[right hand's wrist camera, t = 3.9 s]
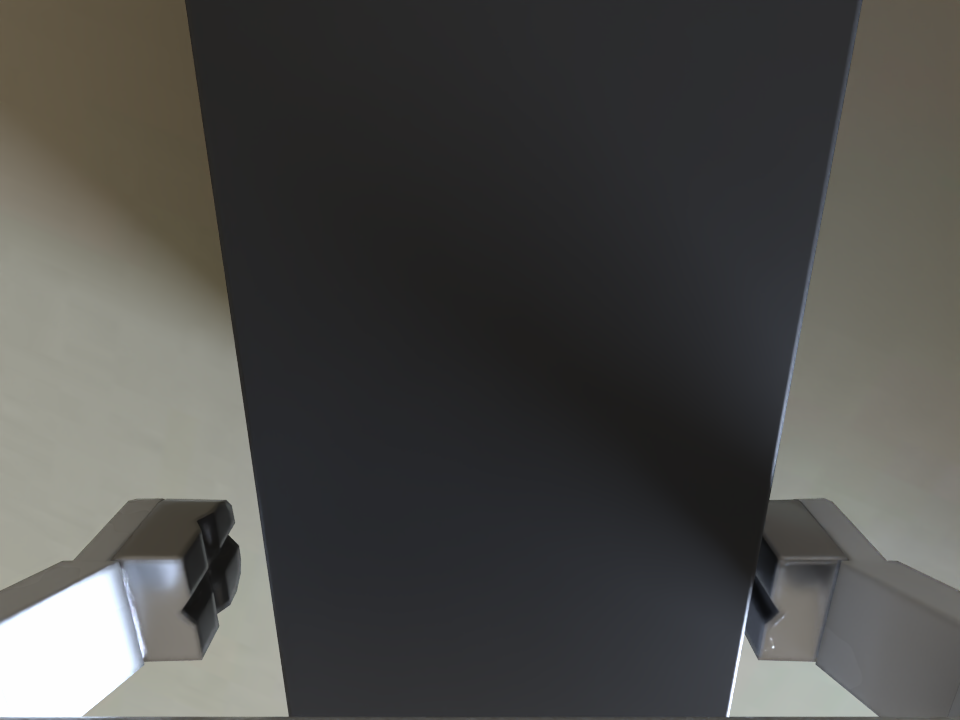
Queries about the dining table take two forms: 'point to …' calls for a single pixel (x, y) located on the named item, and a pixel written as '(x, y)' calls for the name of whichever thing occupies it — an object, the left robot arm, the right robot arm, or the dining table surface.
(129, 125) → the dining table surface
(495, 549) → the box
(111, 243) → the dining table surface
